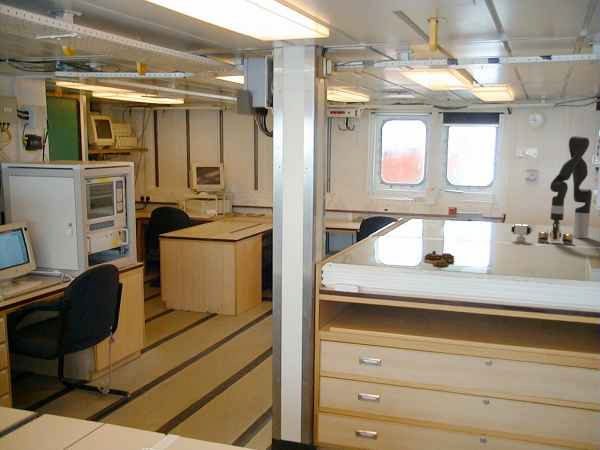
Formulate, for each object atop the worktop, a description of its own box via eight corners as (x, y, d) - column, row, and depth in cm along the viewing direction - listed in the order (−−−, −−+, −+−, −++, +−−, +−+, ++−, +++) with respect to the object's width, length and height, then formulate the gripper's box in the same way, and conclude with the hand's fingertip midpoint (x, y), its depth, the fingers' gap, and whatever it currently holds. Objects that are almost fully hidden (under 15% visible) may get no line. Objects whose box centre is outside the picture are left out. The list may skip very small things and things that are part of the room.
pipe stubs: (539, 241, 401) (539, 230, 400) (572, 243, 391) (573, 232, 390) (537, 242, 396) (538, 231, 395) (571, 245, 386) (572, 233, 385)
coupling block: (561, 240, 394) (561, 229, 393) (560, 241, 390) (561, 230, 389) (550, 239, 397) (550, 229, 396) (549, 240, 393) (549, 229, 392)
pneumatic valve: (529, 242, 392) (530, 224, 391) (510, 241, 399) (511, 222, 397) (531, 241, 397) (532, 223, 395) (512, 240, 403) (513, 222, 402)
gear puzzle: (454, 269, 308) (455, 261, 307) (422, 267, 311) (422, 259, 311) (454, 258, 338) (454, 251, 337) (424, 256, 342) (424, 249, 341)
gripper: (562, 213, 383) (560, 240, 385) (564, 211, 395) (562, 237, 397) (549, 213, 386) (547, 239, 389) (552, 211, 399) (550, 236, 401)
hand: (555, 238), depth 393 cm, fingers closed on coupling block, 5 cm apart
